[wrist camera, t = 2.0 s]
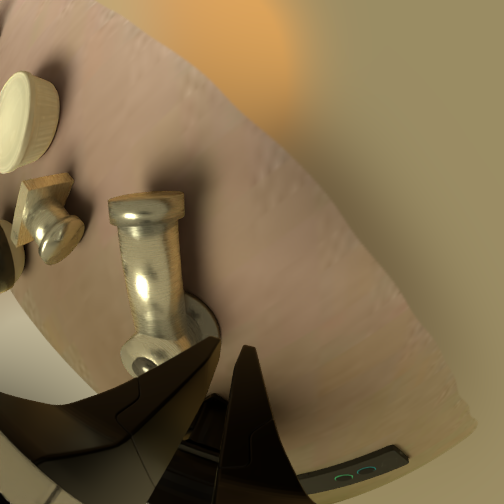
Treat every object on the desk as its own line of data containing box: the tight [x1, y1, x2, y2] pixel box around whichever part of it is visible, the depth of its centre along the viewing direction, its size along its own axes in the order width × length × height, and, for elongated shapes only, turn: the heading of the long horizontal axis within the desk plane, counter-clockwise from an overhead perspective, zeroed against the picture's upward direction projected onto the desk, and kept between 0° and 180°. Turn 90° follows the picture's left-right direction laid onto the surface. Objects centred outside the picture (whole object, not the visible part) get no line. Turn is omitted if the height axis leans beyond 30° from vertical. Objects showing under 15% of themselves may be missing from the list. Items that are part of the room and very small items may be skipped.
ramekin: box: [0, 71, 60, 174], centre depth 18 cm, size 11×11×5 cm
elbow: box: [108, 191, 202, 378], centre depth 19 cm, size 15×5×6 cm, turn 179°
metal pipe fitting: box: [10, 173, 220, 340], centre depth 21 cm, size 23×8×6 cm, turn 49°
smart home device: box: [296, 445, 409, 495], centre depth 29 cm, size 8×2×20 cm
